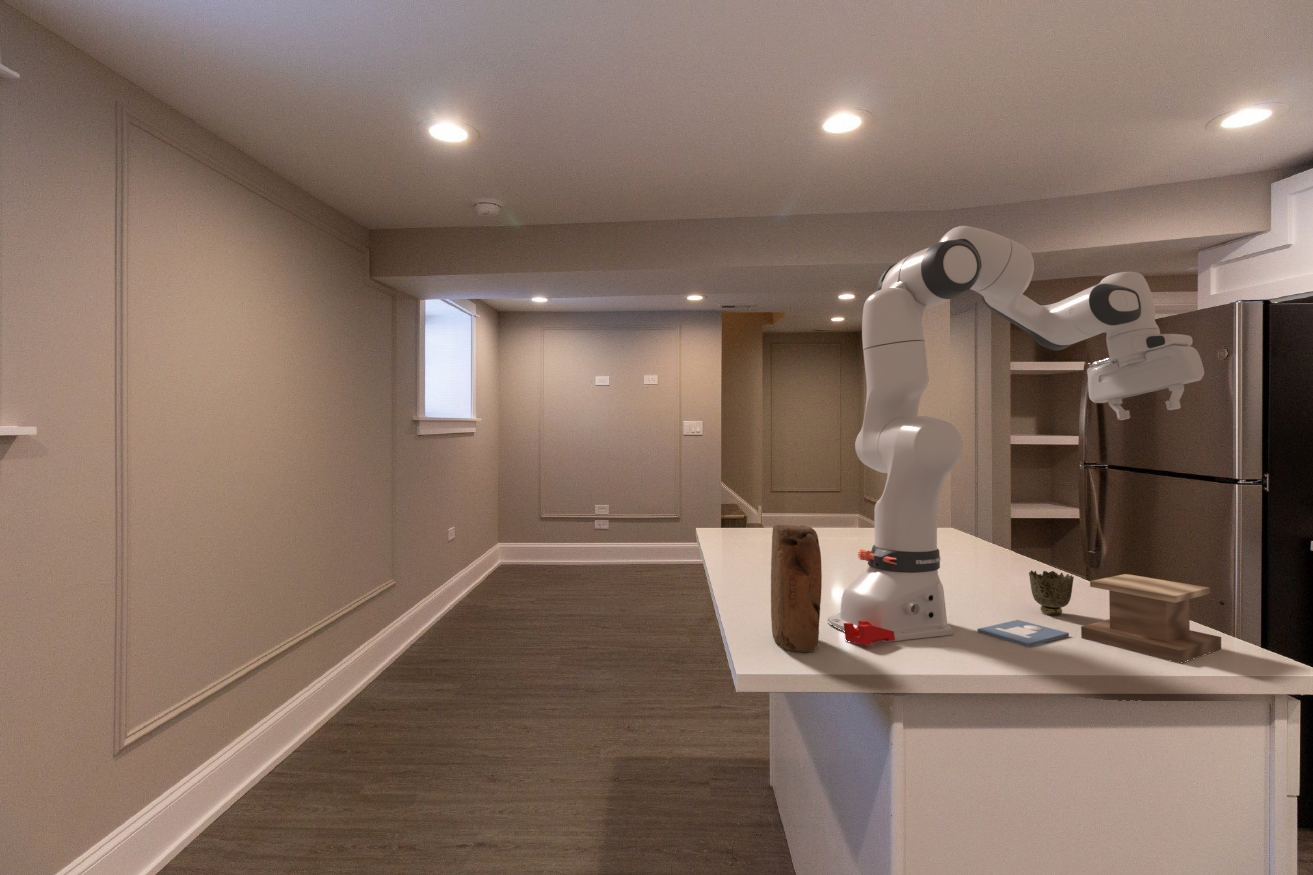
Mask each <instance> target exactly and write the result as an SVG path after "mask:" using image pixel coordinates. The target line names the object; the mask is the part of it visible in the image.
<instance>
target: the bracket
mask: <svg viewBox="0 0 1313 875" xmlns="http://www.w3.org/2000/svg"><path fill="white" fill-rule="evenodd" d="M844 631H845V632H844ZM844 631H843V632H844V638H845V639H846V640H847V641H850V642H849V643H852V644H855V645H862V646H871V645H873V643H876V642H881V641H882V640H885V641H890V642H895V641H894V640H895V636H894V631H891V630H887V629H883V628H879V627H875V626H872V625H871V624H870V623H869V622H868V621H863V620H862V621H858V626H857V628H856V629H855V628H854V626H853V623H844ZM845 639H844V640H845ZM846 640H845V641H846ZM847 641H846V642H847Z"/></svg>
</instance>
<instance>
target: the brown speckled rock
mask: <svg viewBox="0 0 1313 875" xmlns="http://www.w3.org/2000/svg"><path fill="white" fill-rule="evenodd" d="M771 533H772V534H771V535H772V537H771V555H770V556H771V561H770V567H771V568H770V619H771V620H770V621H771V634H772V638H773V640H774V642H775V643H776V644H777V643H778V644H777V645H779V644H780V646H781V647H782V648H784V649H785V650H788V651H791V652H798V653H799V652H800V653H807V652H808V653H809V652H812V651H814V650H816V649H817V647H818V645H819V641H820V640H819V638H820V637H819V636H820V618H821V617H820V615H821V603H822V584H823V583H822V582H823V581H822V577H823V575H822V556H821V549H820V548H821V547H820V542H819V536H818V533H817V531H816V530H815V529H814V528H812V527H811V526H808V525H796V524H795V525H791V524H774V525H773V527H772V531H771Z"/></svg>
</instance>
